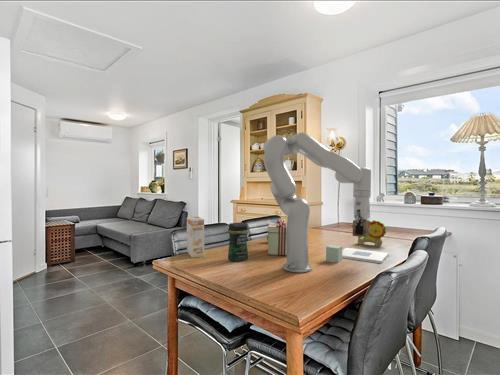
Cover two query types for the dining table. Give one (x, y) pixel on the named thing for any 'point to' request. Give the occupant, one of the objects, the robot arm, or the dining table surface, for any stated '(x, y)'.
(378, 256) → the board
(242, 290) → the dining table surface
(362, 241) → the toy lion
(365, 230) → the walnut block
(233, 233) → the coffee jar
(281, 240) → the gift box
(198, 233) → the coffeecake box
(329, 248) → the sage block
